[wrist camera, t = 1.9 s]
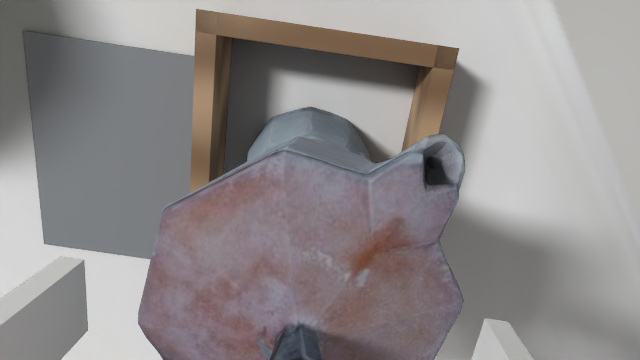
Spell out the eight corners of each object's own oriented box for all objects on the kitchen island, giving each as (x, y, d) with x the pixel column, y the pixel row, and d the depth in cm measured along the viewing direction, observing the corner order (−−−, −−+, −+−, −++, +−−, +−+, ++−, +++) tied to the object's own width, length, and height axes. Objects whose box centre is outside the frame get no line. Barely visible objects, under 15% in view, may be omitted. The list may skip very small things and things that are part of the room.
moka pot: (429, 128, 26) (683, 315, 7) (301, 279, 30) (246, 653, 11) (319, 42, 25) (270, -13, 6) (200, 213, 29) (-59, 516, 10)
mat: (25, 31, 25) (22, 30, 25) (208, 58, 25) (207, 58, 25) (45, 242, 30) (44, 243, 30) (199, 264, 30) (198, 266, 30)
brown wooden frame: (215, 15, 24) (196, 9, 21) (442, 49, 24) (459, 48, 21) (203, 254, 30) (187, 278, 26) (388, 280, 30) (395, 308, 27)
